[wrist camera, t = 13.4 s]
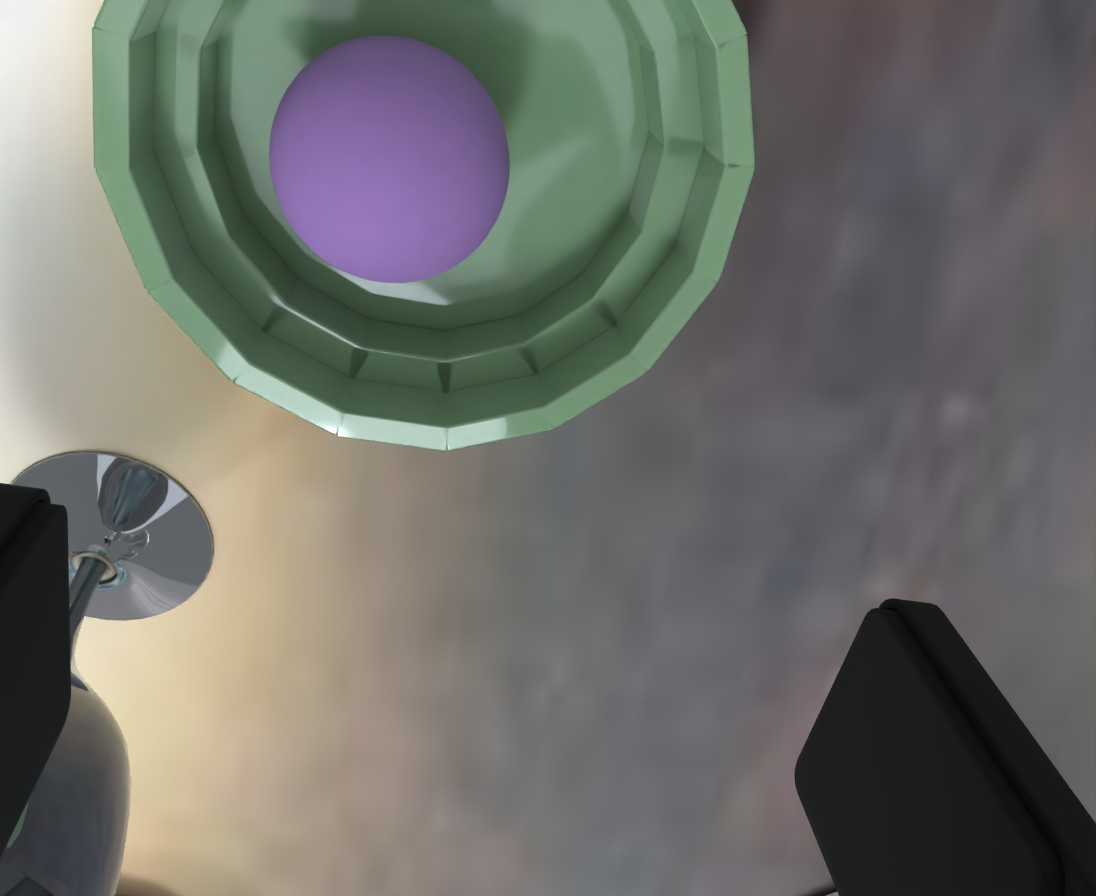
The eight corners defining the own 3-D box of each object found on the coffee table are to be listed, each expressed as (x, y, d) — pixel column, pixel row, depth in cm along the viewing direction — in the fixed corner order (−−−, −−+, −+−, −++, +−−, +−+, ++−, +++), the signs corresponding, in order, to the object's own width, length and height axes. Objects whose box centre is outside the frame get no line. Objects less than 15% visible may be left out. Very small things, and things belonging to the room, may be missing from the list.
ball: (558, 49, 24) (482, 117, 19) (515, 256, 28) (444, 355, 23) (342, -17, 25) (218, 35, 20) (329, 195, 28) (222, 279, 24)
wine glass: (58, 396, 30) (-231, 769, 17) (270, 525, 33) (163, 922, 20) (-61, 555, 32) (-391, 986, 20) (148, 661, 36) (-18, 1091, 23)
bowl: (776, -115, 25) (847, -120, 21) (627, 404, 32) (656, 481, 28) (156, -284, 22) (86, -331, 18) (146, 330, 29) (96, 403, 25)
